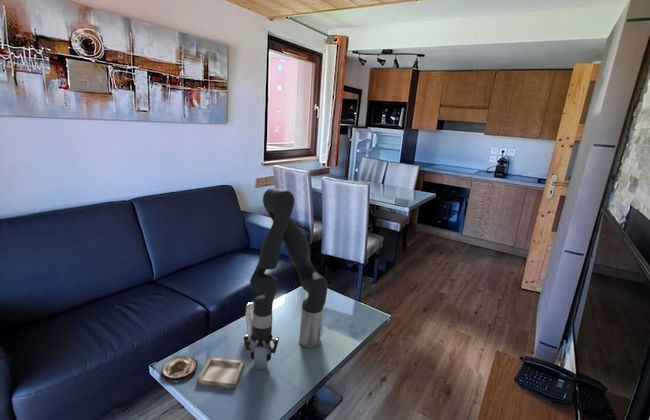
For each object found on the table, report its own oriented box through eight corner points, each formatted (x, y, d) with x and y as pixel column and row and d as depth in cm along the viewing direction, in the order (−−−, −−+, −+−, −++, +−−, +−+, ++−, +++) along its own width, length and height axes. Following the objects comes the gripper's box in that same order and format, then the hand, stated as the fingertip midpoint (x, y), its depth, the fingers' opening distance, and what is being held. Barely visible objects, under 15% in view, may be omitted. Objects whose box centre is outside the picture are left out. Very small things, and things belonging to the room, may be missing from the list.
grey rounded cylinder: (268, 360, 136) (269, 341, 134) (265, 370, 131) (266, 350, 129) (255, 359, 137) (256, 340, 134) (251, 368, 131) (252, 349, 129)
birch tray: (244, 366, 132) (244, 361, 131) (234, 389, 120) (234, 383, 120) (209, 362, 133) (209, 357, 132) (196, 384, 121) (196, 379, 120)
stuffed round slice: (191, 388, 120) (190, 378, 119) (150, 384, 120) (149, 374, 119) (206, 360, 134) (206, 351, 133) (170, 356, 134) (169, 347, 133)
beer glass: (256, 341, 148) (258, 311, 144) (242, 338, 149) (243, 308, 145) (262, 332, 154) (264, 303, 150) (248, 329, 155) (249, 300, 152)
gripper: (282, 318, 132) (280, 355, 137) (246, 314, 133) (245, 351, 137) (278, 330, 125) (276, 368, 129) (241, 325, 126) (240, 363, 130)
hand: (260, 359), depth 133 cm, fingers closed on grey rounded cylinder, 5 cm apart
